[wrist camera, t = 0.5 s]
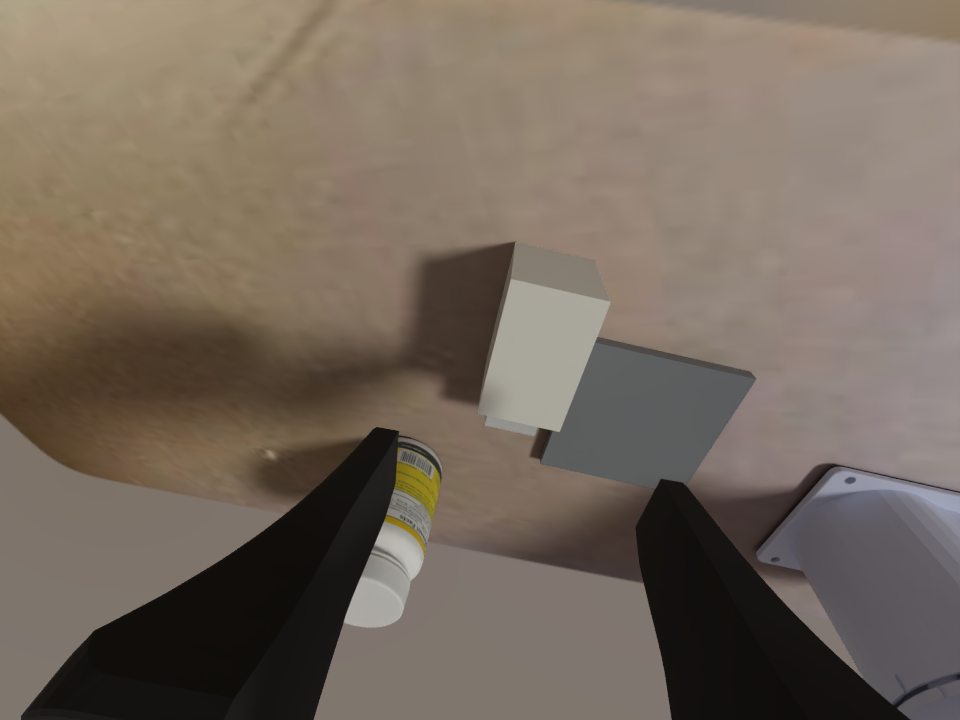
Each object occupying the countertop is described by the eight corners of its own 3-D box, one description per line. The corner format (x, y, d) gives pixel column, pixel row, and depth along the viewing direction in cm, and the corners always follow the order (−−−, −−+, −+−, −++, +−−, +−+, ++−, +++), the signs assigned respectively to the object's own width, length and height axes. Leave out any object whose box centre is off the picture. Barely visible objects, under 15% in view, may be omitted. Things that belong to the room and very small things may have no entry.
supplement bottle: (376, 492, 28) (322, 631, 21) (356, 435, 25) (287, 569, 18) (450, 491, 27) (420, 635, 20) (436, 432, 25) (398, 572, 17)
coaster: (750, 372, 21) (756, 379, 20) (677, 486, 25) (680, 494, 24) (585, 334, 20) (587, 340, 20) (540, 456, 25) (540, 463, 24)
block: (594, 259, 19) (610, 301, 15) (544, 402, 23) (546, 464, 19) (515, 240, 19) (510, 278, 15) (479, 387, 23) (468, 446, 19)
